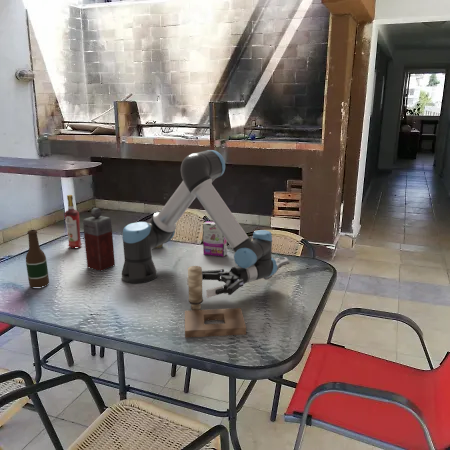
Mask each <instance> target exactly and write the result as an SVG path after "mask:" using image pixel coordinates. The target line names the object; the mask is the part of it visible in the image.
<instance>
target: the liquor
mask: <svg viewBox="0 0 450 450" xmlns="http://www.w3.org/2000/svg"><path fill="white" fill-rule="evenodd" d="M66 199H67V210H66V211H65V212H64V213H63V216H64V220H65V226H66V227H65V228H66V233H67V239H68V245H67V247H69V248H70V247H71V248H70V249H73V248H75V247H79V248H81V246H82V244H83V243H82V241H81V239H82V238H81V224H80V220H81V219H80V211H78V210H77V209H75V207H74V199H73V194H68V195H66Z"/></svg>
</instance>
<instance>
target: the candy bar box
mask: <svg viewBox="0 0 450 450" xmlns="http://www.w3.org/2000/svg"><path fill="white" fill-rule="evenodd" d="M202 242H203V243H202V245H203V246H202V247H203V249H202V250H203V251H202V252H203V255H204V256H212V257H213V256H214V257H221V258H225V257H226V255H228V242H227V240H226V239H225V237H224V236H223V234H222V233H221V232H220V230H219V229H218V227H217V226H216V224H215V223H214V221H205V222H203V223H202Z"/></svg>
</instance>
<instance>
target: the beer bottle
mask: <svg viewBox="0 0 450 450" xmlns="http://www.w3.org/2000/svg"><path fill="white" fill-rule="evenodd" d="M26 234H27V235H28V237H27V238H28V251H27V253H26V255H25V264H26V265H25V266H26V271H27V278H28V279H27V280H28V285H29V287H30V286H31V287H42V286H45V285H47V284H48V283H49V284H50V278H49V270H48V264H47V263H48V261H47V257H46V254H45V252H44V251H43V250H42V249H41V246H40V242H39V238H38V231H37V230H36V229H30V230H28V231H27V233H26ZM49 284H48V285H49ZM48 285H47V286H48ZM31 287H30V288H31Z"/></svg>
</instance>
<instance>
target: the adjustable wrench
mask: <svg viewBox="0 0 450 450" xmlns="http://www.w3.org/2000/svg"><path fill="white" fill-rule="evenodd" d="M274 259H275V261H276V265H277V269H279V268H280V266H283V265H286V263H287V264H288V263H289V259H288V258H287V257H284V259H280V258H279V257H276V258H274ZM270 277H271V276H269V277H266V278H263V279H265V280H267V279H269V278H270Z"/></svg>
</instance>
